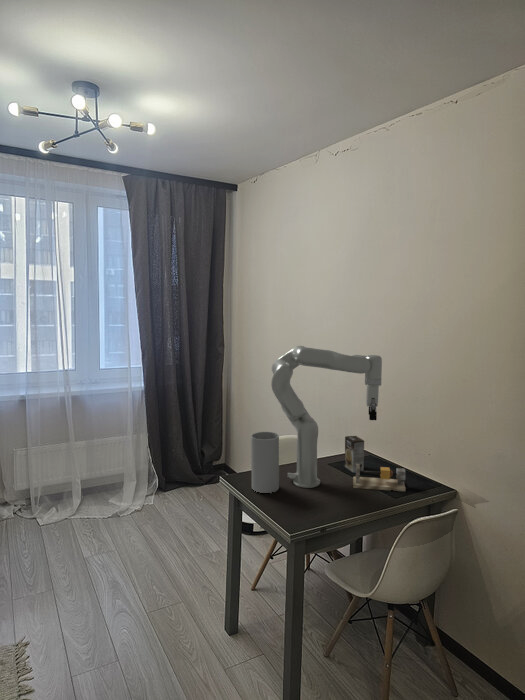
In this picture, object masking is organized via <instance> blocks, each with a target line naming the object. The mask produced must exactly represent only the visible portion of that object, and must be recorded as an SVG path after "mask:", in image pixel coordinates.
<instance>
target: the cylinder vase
mask: <svg viewBox="0 0 525 700" xmlns="http://www.w3.org/2000/svg"><path fill="white" fill-rule="evenodd" d="M250 440H251V441H250V442H251V443H250V446H251V447H250V449H251V453H250V454H251V456H250V457H251V461H250V462H251V471H250V472H251V489H253V490H254V491H253V490H252V491H253V492H255V491H256V492H255V493H257V492H260V493H270V494H273V493H272V492H274V493H276V492H278V490H279V489H280V435H279V434H278V433H277V432H272V431H258V432H254V433H252V434H251V436H250ZM260 493H259V494H260Z"/></svg>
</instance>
